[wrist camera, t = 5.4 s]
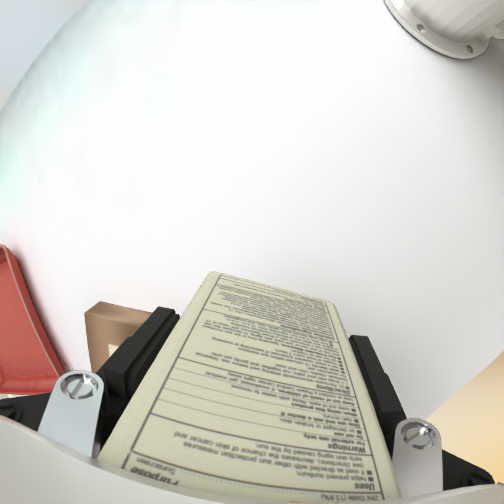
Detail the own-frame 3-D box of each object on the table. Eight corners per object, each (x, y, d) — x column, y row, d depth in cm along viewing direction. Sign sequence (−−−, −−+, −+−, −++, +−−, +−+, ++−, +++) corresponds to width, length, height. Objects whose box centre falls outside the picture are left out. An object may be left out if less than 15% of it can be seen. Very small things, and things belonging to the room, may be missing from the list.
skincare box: (188, 358, 13) (85, 568, 3) (210, 265, 11) (33, 509, 2) (303, 390, 12) (308, 615, 3) (342, 304, 11) (432, 572, 2)
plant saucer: (-38, 274, 29) (-53, 280, 26) (21, 236, 27) (1, 242, 24) (10, 383, 33) (-2, 394, 29) (83, 380, 30) (69, 395, 27)
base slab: (219, 325, 27) (213, 342, 23) (211, 420, 29) (206, 441, 26) (100, 301, 27) (83, 313, 24) (110, 395, 30) (98, 411, 27)
